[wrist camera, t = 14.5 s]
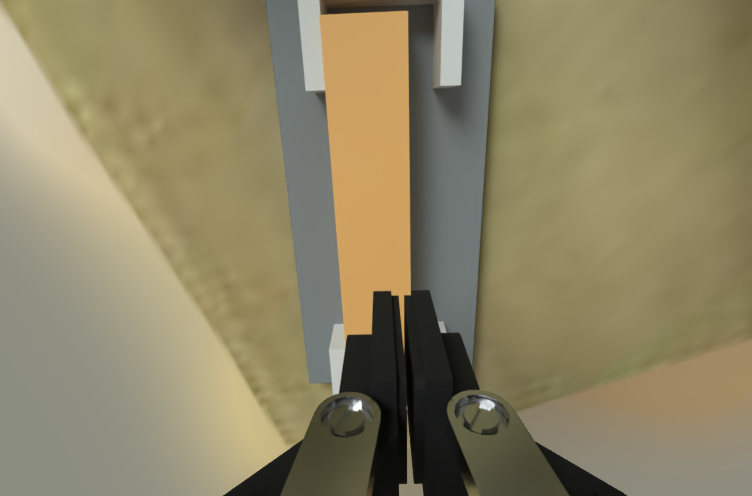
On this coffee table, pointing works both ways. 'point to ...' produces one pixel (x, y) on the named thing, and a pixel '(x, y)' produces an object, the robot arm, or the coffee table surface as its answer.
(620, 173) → the coffee table surface
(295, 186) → the cap board
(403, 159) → the slat
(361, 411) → the robot arm
